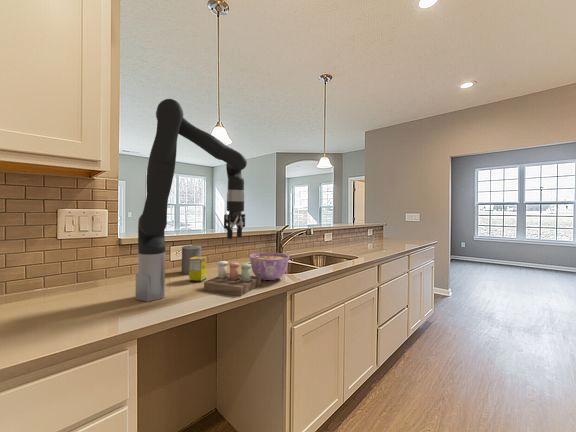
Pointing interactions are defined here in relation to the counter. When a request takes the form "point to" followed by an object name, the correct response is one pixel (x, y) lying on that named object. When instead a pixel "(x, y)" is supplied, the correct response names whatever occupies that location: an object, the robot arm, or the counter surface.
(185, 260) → the pillar candle
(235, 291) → the walnut board
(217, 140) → the robot arm
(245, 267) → the pale green shaker
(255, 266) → the bowl of food
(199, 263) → the supplement box
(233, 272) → the terracotta shaker
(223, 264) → the white shaker
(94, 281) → the counter surface
